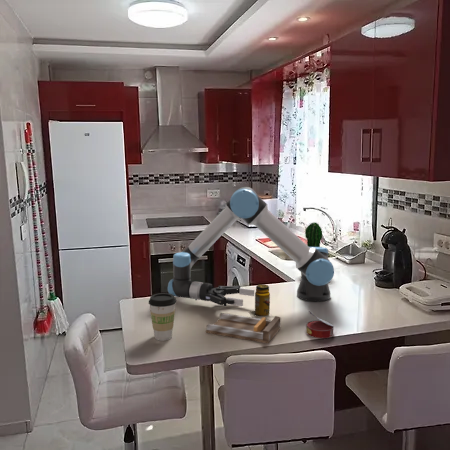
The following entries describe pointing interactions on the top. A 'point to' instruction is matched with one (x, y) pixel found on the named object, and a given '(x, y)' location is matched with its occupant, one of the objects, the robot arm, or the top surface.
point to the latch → (260, 325)
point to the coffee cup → (162, 315)
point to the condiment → (261, 302)
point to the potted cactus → (313, 235)
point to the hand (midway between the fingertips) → (248, 297)
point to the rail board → (244, 328)
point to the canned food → (319, 328)
